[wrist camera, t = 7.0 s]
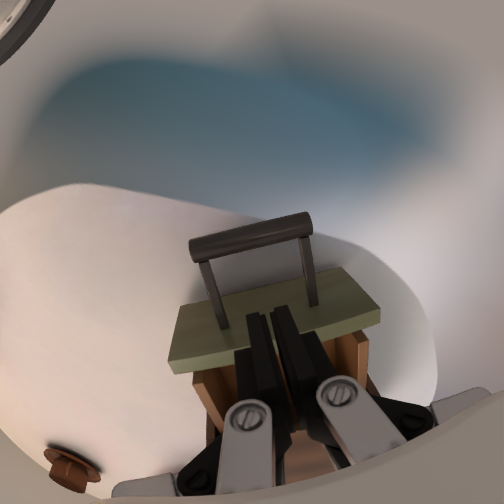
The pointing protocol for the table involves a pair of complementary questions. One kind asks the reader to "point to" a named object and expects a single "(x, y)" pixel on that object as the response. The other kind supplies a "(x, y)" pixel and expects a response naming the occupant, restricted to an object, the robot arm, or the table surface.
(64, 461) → the cup and saucer
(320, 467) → the cabinet
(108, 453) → the table surface
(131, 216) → the table surface
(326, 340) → the drawer
